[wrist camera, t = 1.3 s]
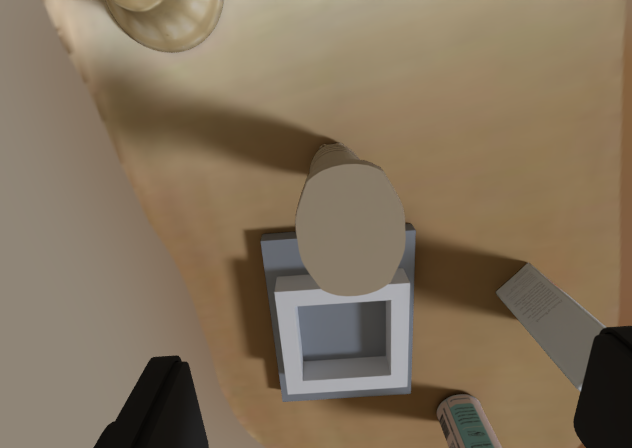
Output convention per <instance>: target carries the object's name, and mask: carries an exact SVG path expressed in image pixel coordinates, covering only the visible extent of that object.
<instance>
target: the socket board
mask: <svg viewBox="0 0 632 448" xmlns="http://www.w3.org/2000/svg"><path fill="white" fill-rule="evenodd" d="M405 235H406V241H405V250H404V253H403V256H402V259H401V261H400V264H399V266H398V268H397V270H396V272H395V274H394V276H393V278H392V281H391V282H390V283H389V284H388V285H386V286H385V287H383V288H381V289H380V290H378V291H375V292H372V293H369V294H365V295H359V296H337V295H334V294H330V293H327V292H325V291H323V290H322V289H321V288H320V287H319V286H318V284H317V283H316V282H315V280H314V279H313V278H312V276H311V275H310V273H309V272H308V271H307V269H306V268H305V266H304V264H303V262H302V260H301V256H300V253H299V247H298V241H297V235H296V232H284V233H270V234H262V238H261V248H262V256H263V263H264V270H265V277H266V284H267V292H268V299H269V306H270V313H271V320H272V328H273V335H274V342H275V349H276V356H277V364H278V371H279V378H280V385H281V392H282V400H283V402H288V401H304V400H319V399H335V398H350V397H366V396H382V395H397V394H411V370H412V336H413V303H414V269H415V235H416V230H415V228H414V227H413V225H412V224H405Z"/></svg>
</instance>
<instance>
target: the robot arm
mask: <svg viewBox="0 0 632 448" xmlns="http://www.w3.org/2000/svg"><path fill="white" fill-rule="evenodd" d="M574 428H575V431H576V434H577V436H578V437H579V439H580V440H581V442H582V443H583V444H584V446H585V447H586V448H632V326H622V327H607V328H603V329H602V330H601V331H600V333H599V335H596V336H595V338H594V340H593V344H592V348H591V352H590V356H589V360H588V364H587V368H586V372H585V376H584V380H583V384H582V388H581V392H580V396H579V400H578V404H577V408H576V412H575V416H574ZM94 448H209V447H208V440H207V436H206V432H205V428H204V425H203V420H202V416H201V412H200V408H199V404H198V400H197V396H196V392H195V388H194V384H193V379H192V376H191V371H190V367H189V364H188V363H187V362H182V361H181V359H180V357H179V356H162V357H153V358H151V359H150V361H149V362H148V364H147V366H146V367H145V369H144V371H143V373H142V374H141V376H140V378H139V380H138V382H137V383H136V385H135V387H134V389H133V390H132V392H131V394H130V396H129V397H128V399H127V401H126V403H125V405H124V407H123V408H122V410H121V412H120V413H119V415H118V417H117V419H116V421H115V422H112V423H111V424H109V425H108V426H107V427H106V428H105V430H104V431H103V433H102V434H101V436H100V438H99V439H98V441H97V443H96V445H95V446H94Z"/></svg>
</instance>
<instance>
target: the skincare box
mask: <svg viewBox="0 0 632 448" xmlns="http://www.w3.org/2000/svg"><path fill="white" fill-rule="evenodd" d="M496 294H497V295H498V297H499V298H500V299H501V300H502V301H503V303H504V304H505V305H506V306H507V307H508V308H509V310H510V311H511V312H512V313H513V314H514V315H515V317H516V318H517V319H518V320H519V321H520V323H521V324H522V325H523V326H524V327H525V328H526V330H527V331H528V332H529V333H530V334H531V336H532V337H533V338H534V339H535V340H536V342H537V343H538V344H539V345H540V346H541V347H542V349H543V350H544V351H545V352H546V353H547V355H548V356H549V357H550V358H551V359H552V360H553V362H554V363H555V364H556V365H557V366H558V367H559V368H560V370H561V371H562V372H563V373H564V374H565V376H566V377H567V378H568V379H569V380H570V381H571V383H572V384H573V385H574V386H575V387H576V388H577V389H578V390H579V391H580V392H581V388H582V384H583V380H584V376H585V372H586V368H587V364H588V360H589V356H590V352H591V348H592V344H593V340H594V338H595V336H596V335H599V333H600V331H601V330H602V329H603V328H607V327H605V326H604V325H603V324H602V323H601V322H600V321H598V320H597V319H596V318H595V317H594V316H593V315H591V314H590V313H589V312H588V311H587V310H586V309H584V308H583V307H582V306H581V305H580V304H578V303H577V302H576V301H575V300H574V299H572V298H571V297H570V296H569V295H568V294H566V293H565V292H564V291H563V290H562V289H560V288H559V287H558V286H557V285H555V284H554V283H553V282H552V281H551V280H549V279H548V278H547V277H546V276H544V275H543V274H542V273H541V272H540V271H538V270H537V269H536V268H535V267H534V266H532V265H531V264H530V263H528V264H526V265H525V266H524V267H523V268H522V269H521V270H519V271H518V272H517V273H516V274H515V275H514V276H513V277H512V278H511V279H510V280H508V281H507V282H506V283H505V284H504V285H503V286H502V287H500V288H499V289H498V290H497V291H496Z"/></svg>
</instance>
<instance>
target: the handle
mask: <svg viewBox="0 0 632 448" xmlns="http://www.w3.org/2000/svg"><path fill="white" fill-rule="evenodd" d="M295 225H296V235H297V241H298V247H299V253H300V256H301V260H302V262H303V264H304V266H305V268H306V269H307V271H308V272H309V273H310V275H311V276H312V278H313V279H314V280H315V282H316V283H317V284H318V286H319V287H320V288H321V289H322V290H323V291H325V292H327V293H330V294H334V295H337V296H359V295H365V294H369V293H372V292H375V291H378V290H380V289H381V288H383V287H385V286H386V285H388V284H389V283H390V282H391V281H392V278H393V276H394V274H395V272H396V270H397V268H398V266H399V264H400V261H401V259H402V256H403V253H404V250H405V241H406V235H405V216H404V209H403V206H402V203H401V201H400V198H399V197H398V195H397V193H396V191H395V189H394V188H393V186H392V184H391V183H390V181H389V179H388V178H387V176H386V174H385V173H384V171H383V170H382V169H381V167H379V166H377V165H375V164H373V163H371V162H368V161H365V160H360V159H359V158H358V156H357V155H356V154H355V153H354V152H353V151H352V150H351V149H349V148H348V147H346V146H345V145H344V144H342V143H339V142H337V143H336V144H330V145H326V144H323V145H322V146H320V148H319V151H318V152H317V153H316V154H315V156H314V157H313V159H312V162H311V166H310V170H309V175H308V176H307V179H306V181H305V184H304V187H303V190H302V193H301V196H300V199H299V203H298V207H297V211H296V220H295Z"/></svg>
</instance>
